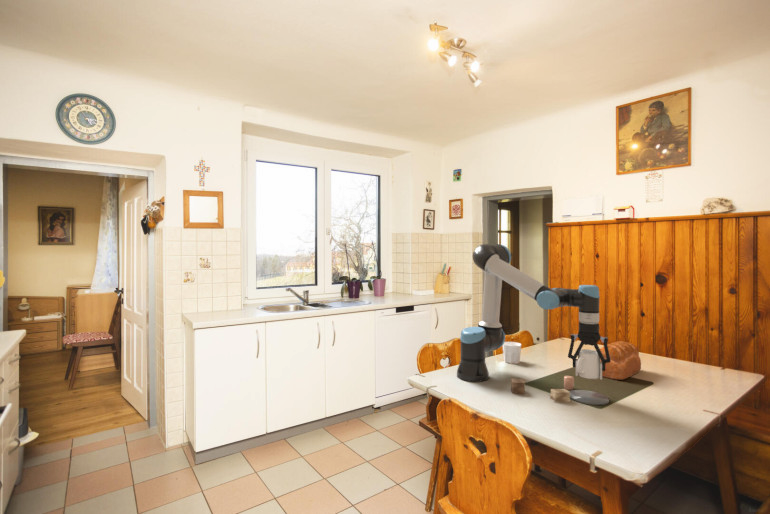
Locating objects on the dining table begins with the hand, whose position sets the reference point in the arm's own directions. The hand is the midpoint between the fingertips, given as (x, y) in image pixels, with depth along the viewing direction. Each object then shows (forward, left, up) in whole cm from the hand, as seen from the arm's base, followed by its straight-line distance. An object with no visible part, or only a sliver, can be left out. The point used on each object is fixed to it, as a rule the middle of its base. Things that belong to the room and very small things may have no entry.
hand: (588, 376), depth 162 cm
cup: (-39, +39, -9) cm, 56 cm away
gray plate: (0, 0, -9) cm, 9 cm away
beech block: (-10, -8, -9) cm, 16 cm away
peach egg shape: (-8, +9, -9) cm, 15 cm away
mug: (-1, 0, 0) cm, 1 cm away
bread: (+12, +45, -9) cm, 48 cm away
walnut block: (-27, -7, -9) cm, 29 cm away
